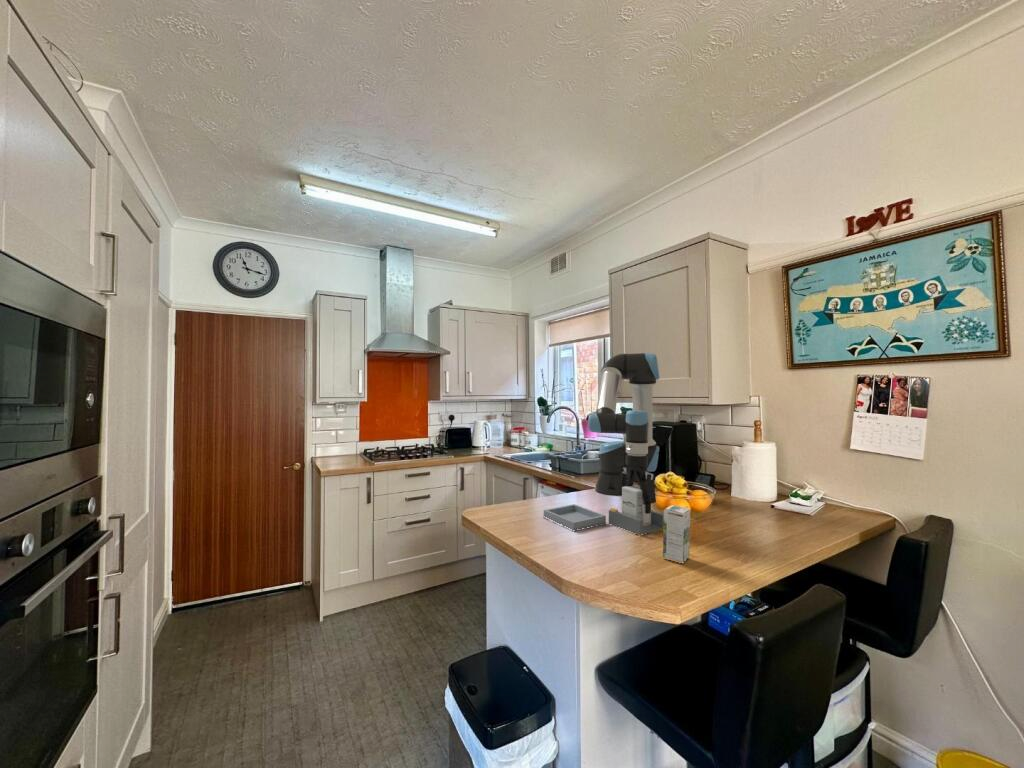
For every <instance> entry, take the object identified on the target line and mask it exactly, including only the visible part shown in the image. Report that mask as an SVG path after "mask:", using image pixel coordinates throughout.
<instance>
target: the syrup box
mask: <svg viewBox="0 0 1024 768" xmlns="http://www.w3.org/2000/svg"><path fill="white" fill-rule="evenodd" d="M663 514H664V529H663V530H662V531H663V533H662V535H663V536H662V537H663V538H662V539H663V540H662V558H663V557H664V558H668V559H671V560H675V561H678V562H684V561H685V560H686V559H687V558H688V557H689V558H690V536H691V534H690V533H691V509H690V508H688V507H684V506H680V505H669V506H668V507H666V508H664V510H663Z"/></svg>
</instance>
